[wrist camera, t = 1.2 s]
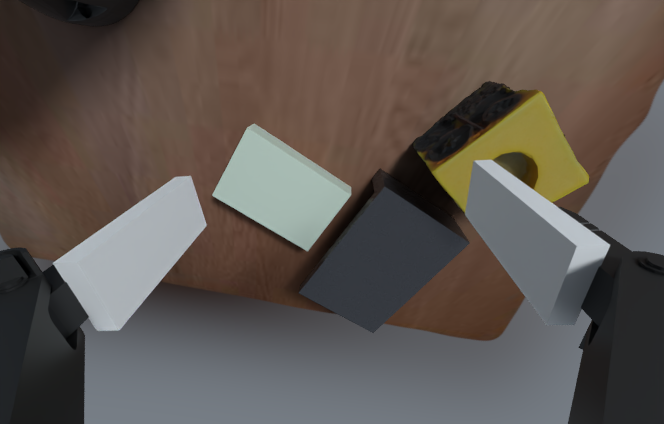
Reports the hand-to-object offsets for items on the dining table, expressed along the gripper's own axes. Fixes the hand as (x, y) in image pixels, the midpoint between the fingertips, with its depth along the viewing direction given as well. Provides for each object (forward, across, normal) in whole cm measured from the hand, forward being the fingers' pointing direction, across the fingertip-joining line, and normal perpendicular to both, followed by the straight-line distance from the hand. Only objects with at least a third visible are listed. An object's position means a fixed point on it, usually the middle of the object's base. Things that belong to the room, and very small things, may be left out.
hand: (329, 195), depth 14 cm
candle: (+22, +15, -5) cm, 27 cm away
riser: (+21, +4, -17) cm, 28 cm away
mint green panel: (+22, -8, -9) cm, 25 cm away
